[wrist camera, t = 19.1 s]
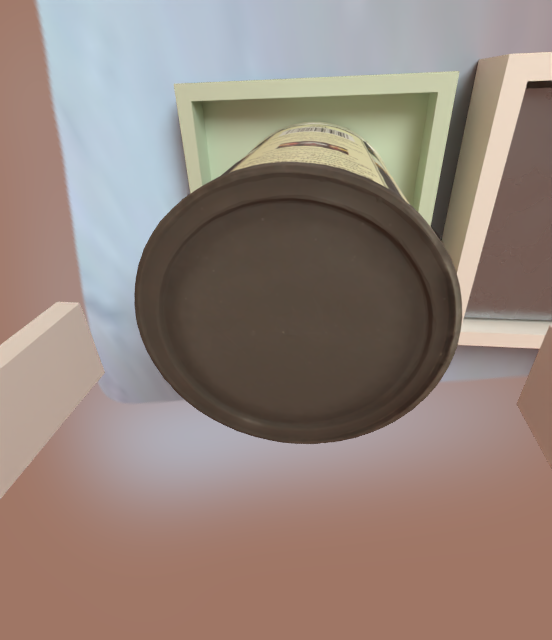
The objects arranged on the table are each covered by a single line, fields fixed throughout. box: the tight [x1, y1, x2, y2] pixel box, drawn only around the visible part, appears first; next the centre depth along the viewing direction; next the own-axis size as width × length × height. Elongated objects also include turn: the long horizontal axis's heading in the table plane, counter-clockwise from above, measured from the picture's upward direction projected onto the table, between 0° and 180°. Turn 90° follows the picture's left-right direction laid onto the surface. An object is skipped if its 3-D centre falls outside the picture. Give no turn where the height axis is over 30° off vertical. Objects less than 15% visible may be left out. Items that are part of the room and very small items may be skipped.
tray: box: [174, 71, 459, 227], centre depth 23 cm, size 14×14×2 cm
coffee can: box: [135, 122, 462, 444], centre depth 18 cm, size 10×10×14 cm
